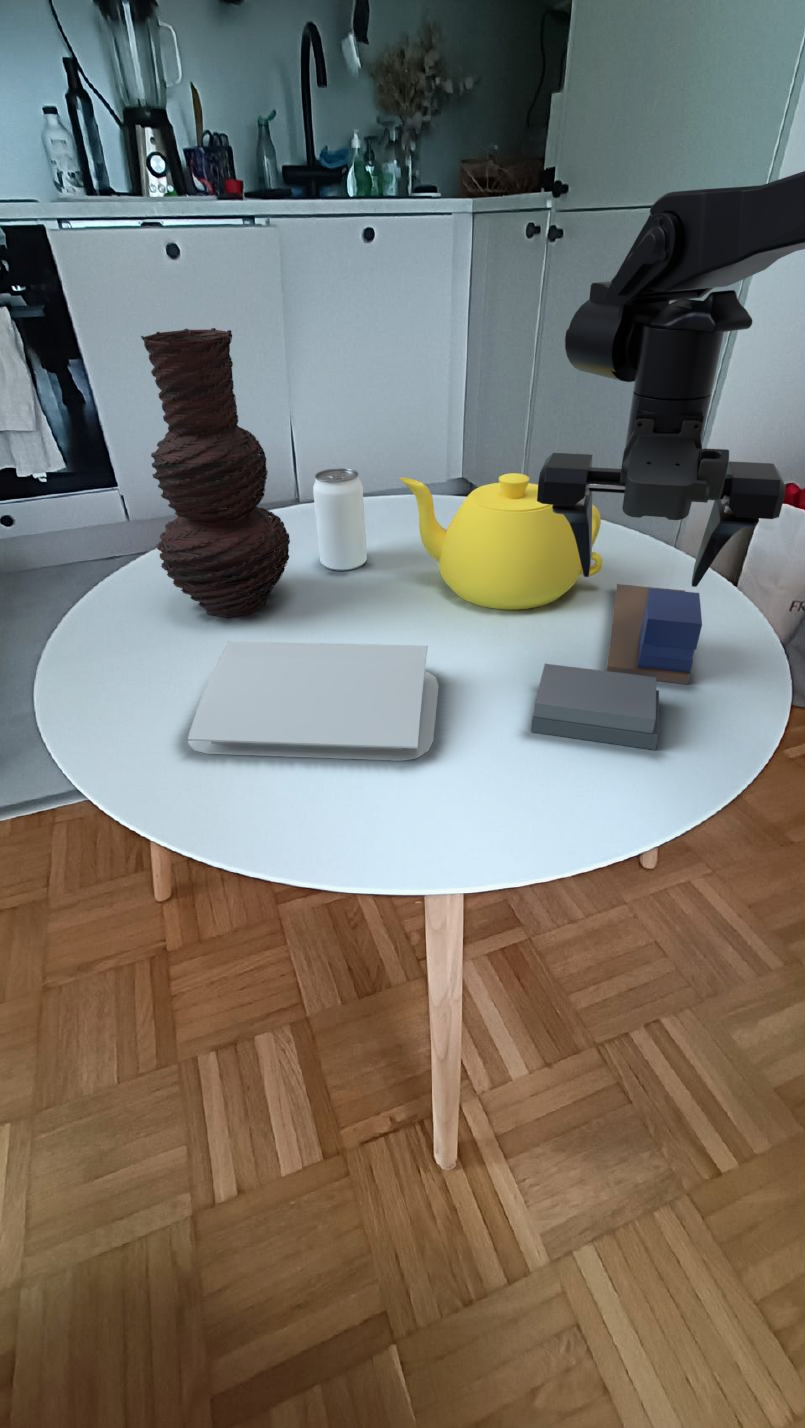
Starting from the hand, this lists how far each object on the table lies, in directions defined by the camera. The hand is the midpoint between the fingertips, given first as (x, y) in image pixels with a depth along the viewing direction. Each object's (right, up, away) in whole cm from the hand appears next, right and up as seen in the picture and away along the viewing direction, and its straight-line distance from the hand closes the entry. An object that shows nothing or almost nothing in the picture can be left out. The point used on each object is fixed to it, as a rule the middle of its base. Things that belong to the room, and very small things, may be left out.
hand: (639, 580), depth 64 cm
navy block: (+6, -3, +9) cm, 11 cm away
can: (-29, +9, +35) cm, 47 cm away
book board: (+6, -3, +16) cm, 18 cm away
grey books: (-3, -12, +4) cm, 13 cm away
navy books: (+6, -6, +11) cm, 14 cm away
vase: (-42, +2, +26) cm, 49 cm away
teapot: (-9, +5, +28) cm, 30 cm away
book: (-29, -12, +6) cm, 32 cm away
